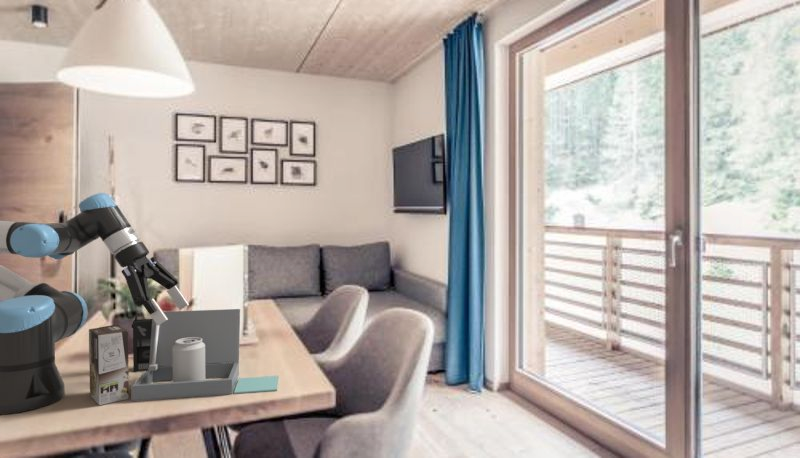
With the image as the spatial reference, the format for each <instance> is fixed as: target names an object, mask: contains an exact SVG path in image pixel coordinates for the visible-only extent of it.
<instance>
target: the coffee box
mask: <svg viewBox="0 0 800 458" xmlns="http://www.w3.org/2000/svg"><path fill="white" fill-rule="evenodd" d="M88 357H89V359H88V362H89V394H90V397H91V399H93V400H94V401H95V402H96V404H98V406H102V405H107V404H111V403H116V402H120V401H125V400H129V398H130V397H129V396H130V395H129V394H130V393H129V392H130V391H129V390H130V389H129V388H130V387H129V385H130V384H129V383H130V380H129V379H130V378H129V376H130V375H129V330H128V329H126V328H124V327H123V326H120V325H119V324H111V325H106V326H100V327H96V328H89V329H88Z"/></svg>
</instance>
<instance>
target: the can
mask: <svg viewBox="0 0 800 458" xmlns="http://www.w3.org/2000/svg"><path fill="white" fill-rule="evenodd" d="M175 343H176V344H175V345H174V347H173V348H172V360H173V380H172V382H183V381H199V380H207V378H205V344H204V343H203V342H202V338H199V337H188V338H182V339H178V340H176V341H175Z"/></svg>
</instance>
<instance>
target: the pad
mask: <svg viewBox="0 0 800 458" xmlns="http://www.w3.org/2000/svg"><path fill="white" fill-rule="evenodd" d="M278 384H279V375H268V376H254V377H253V376H251V377H238V379H237V382H236V384H235V387H234V390H233V394H234V395H235V394H237V395H239V394H251V393H265V392H266V393H268V392H276V391H278V387H279V386H278Z"/></svg>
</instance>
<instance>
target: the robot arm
mask: <svg viewBox="0 0 800 458" xmlns="http://www.w3.org/2000/svg"><path fill="white" fill-rule="evenodd" d="M78 208H79V210H80V213H78V214H77V215H75V216H74V217H72V218H70V219H68V220H66V221H64V222H55V223H54V222H52V223H50V222H49V223H44V222H43V223H42V222H40V223H39V222H38V223H37V222H26V221H12V220H0V254H6V255H18V256H21V257H23V258H31V259H32V258H35V259H36V258H43V257H44V258H45V257H49V258H51V259H52V258H53V259H54V260H62V259H64V258H66V257H68V256H71V255H73V254H75V252H77V251H78V250H81V249H82V248H83V247H86V246H87V245H88V244H91V243H92V242H93V241H96V240H98V239H99V238H100V239H101V241H102V243H104V244H105V247H106V248H107V249H108V251H109V252H110V254H111V255H114V259H115V260H116V262H117V263H118V265H119V266H120V267H121V268H124V269H122V270H121V274H122V275H123V277H124V278H125V282H126V284H127V287H128V289H129V292H130V295H131V298H132V301H133V303H134V305H137V307H141V306H142V305H143V307H144V309H146V312H147V313H148V314H149V316H150V317H151V319H152V318H153V320H154V321H155V323H156V324H157V325H160V324H161V323H163V322H165V321H166V320H168V318H167V317H166V316H165V314H164V313H163V312H164V311H163V310H162V309H161V307H160V306H159V304H158V303H157V301H156V300H155V298H151V294H150V288H149V282H148V280H149V279H150V280H151V279H152V281H154V282H156V283H158V284H159V285H160V286H161V287H164V288H165V289H166V293H167V294H168V296H169V297H170V299H171V300H172V301H173V303H174V304H175V306H176V307H177V309H178V310H179V311H182V310H183V309H184V308H186V307H188V306H189V302H188V301H187V299H185V297H184V295H183V294H182V293H181V291H180V289H179V288H178V287H177V285H179V281H178V279H177V278H176V277H175V276H174V275H173V274H172V273H171V272H169V271H168V270H167V268H165V267H164V266H163V265H162V264H161V263H160V262H159V261H158V260H157V258H156V257H155V256H152V257H150V258H148V257H147V256H148V255H149V253H150V251H149V249H148V248H147V247H146V245H145V244H144V242H142V241H140V240H141V238H140V237H139V235H138V234H137V232H136V231H137V230H136V229H134V227H132V225H131V224H130V222H129V221H128V220H127V218H126V216H125V215H124V214H123V212H122V211H121V209H120V207H119V205H118V204H117V203H116V202H115V201H114V200H113V198H112V197H111V196H110V195H109V194H108V193H105V192H98V193H95V194H92V195H90V196H88V197H85V199H83V200H82V201H80V202H79V204H78ZM87 319H88V305H87V303H86V301H85V299H84V298H83V297H82V296H81V295H80V294H78V293H76V292H74V291H69V290H61V291H60V290H58V289H57V288H55V287H53V286H51V285H50V284H48V283H45V282H43V281H41V282H37V283H33V282H31V281H30V280H28V279H27V278H24V277H22V276H21V275H19V273H18V274H17V273H16V272H14V271H12V270H11V269H9V268H6V267H5V266H4V265H2V264H0V415H7V414H15V413H21V412H27V411H31V410H35V409H36V410H37V409H39V408H43V407H45V406H48V405H51V404H53V403H56V402H57V401H59V400H61V399H62V398H63V397H64V396H65V393H66V391H65V382H64V381H63V379H62V376H61V373H60V371H59V369H58V366H57V365H56V350H55V349H56V348H55V347H56V343H58V342H60V341H61V340H64V339H65V338H69V337H71V336H73V335H74V334H75V333H76V332H78V331H79V330H81V328H82V327H83V326H84V324H85V323H86V321H87Z"/></svg>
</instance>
